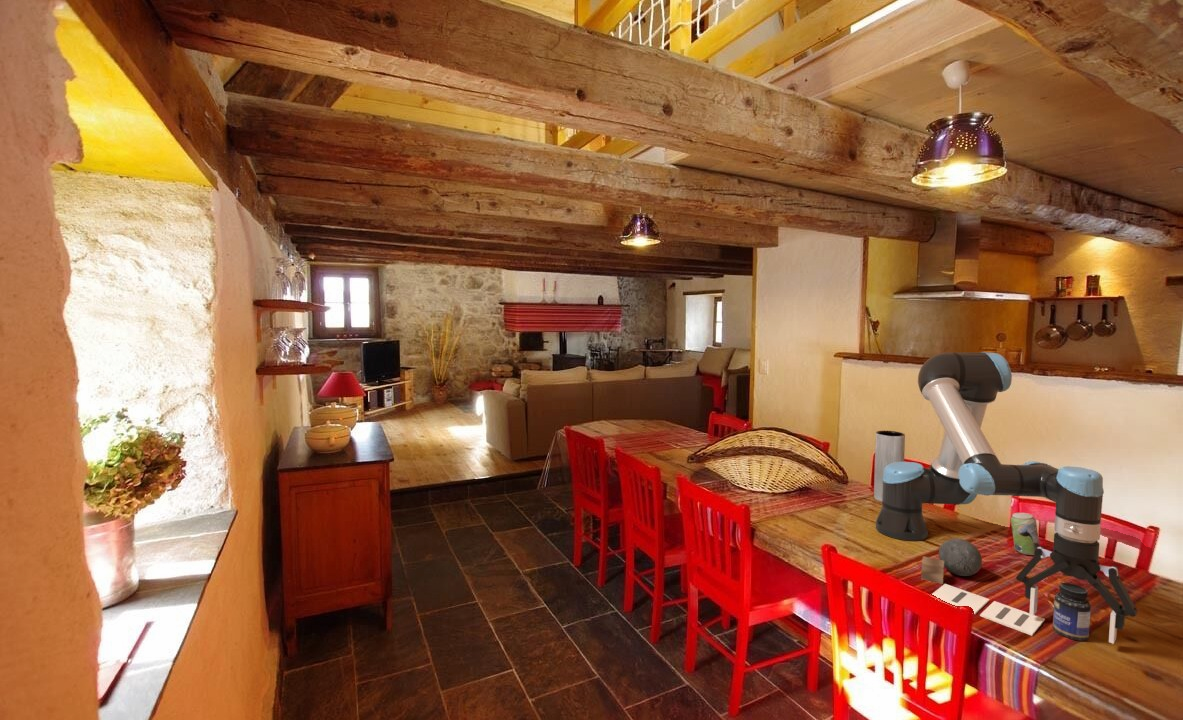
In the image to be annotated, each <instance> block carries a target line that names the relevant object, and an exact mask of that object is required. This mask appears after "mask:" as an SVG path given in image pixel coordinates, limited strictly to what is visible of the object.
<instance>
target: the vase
mask: <svg viewBox="0 0 1183 720" xmlns="http://www.w3.org/2000/svg"><path fill="white" fill-rule="evenodd" d="M905 442H906V434H905V433H903V432H900V431H895V430H877V431H876V432H875V447H874V448H875V452H874V454H875V456H874V479H873V480H874V483H873V485H874V486H873V487H874V489H873V498H874V499H875V500H876V501H878V502H880V503H882V496H883V479H882V477H883V473H884V468H885V467H886V466H887V465H888V464H891V463H895V462H905V445H906V444H905Z"/></svg>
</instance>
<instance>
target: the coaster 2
mask: <svg viewBox="0 0 1183 720" xmlns="http://www.w3.org/2000/svg"><path fill="white" fill-rule="evenodd" d="M1029 613H1030V612H1027V611H1024V610H1021V609H1018V608H1015V607H1012V606H1009V605H1007V604H1004V603H1002V602H998V601H996V600H994V601H993V602H991V604H989V606H987V607H986V608H985V609H984V610H983V611H982V612H981V613H980V614H979V617H982V618H984V619H987V620H989V621H992V622H994V623H997V624H1000V625H1002V626H1004V627H1008V628H1009V629H1010V628H1011V629H1013V630H1016V631H1018V632H1021V633H1023V634H1027V635H1029V636H1031V637H1033V636H1034V635H1035V634H1036V632H1037V631H1038V630H1039V628H1040V627H1041V626H1042V624H1044V622H1045V621H1046V619H1045V618H1044V617H1040V616H1038V615H1035V614H1034V615H1030V614H1029Z"/></svg>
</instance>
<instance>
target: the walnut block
mask: <svg viewBox="0 0 1183 720" xmlns="http://www.w3.org/2000/svg"><path fill="white" fill-rule="evenodd" d="M920 572H921V577H920V580H921V581H923V580H926V581H925V582H927V581H931V582H935V583H934V584H936V583H939V584H938V585H940V584H943V585H944V579H943V578H944V575H945V567H944V561H943V560H940V559H938V558H932V557H928V556H925V555H924V556H923V555H922V560H921V571H920ZM931 582H930V583H931Z"/></svg>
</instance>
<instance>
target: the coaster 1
mask: <svg viewBox="0 0 1183 720" xmlns="http://www.w3.org/2000/svg"><path fill="white" fill-rule="evenodd" d="M931 594H932V595H934V596H936V597H937V598H940V599H941V600H943V601H945V602H947V603H950V604H952V605H955V606H969V607H971V608H972V609H973V611H974V615H976V614H977V613H978V612H980V611H981V609H982V608H983V607H985V606H986V605H987V604H988V603H989V602H990V598H987V597H984V596H982V595H978V594H975V593H974V592H970V591H968V590H964V589H961V588H959V587H955V586H953V585H950V584H947V583H943V585H940V586H939V588H937V589H936V590H935V591H934V592H933V593H931ZM947 603H946V604H947ZM952 605H951V606H952ZM955 606H954V607H955Z"/></svg>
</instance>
